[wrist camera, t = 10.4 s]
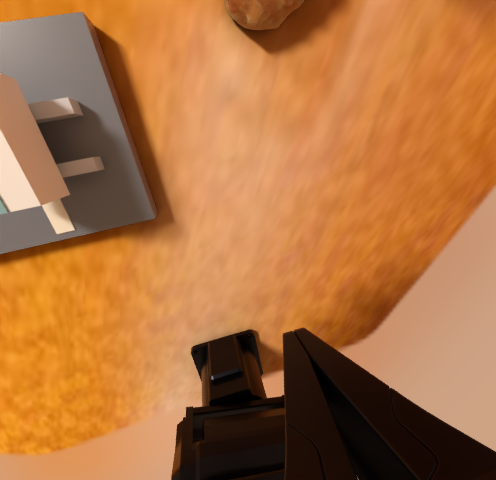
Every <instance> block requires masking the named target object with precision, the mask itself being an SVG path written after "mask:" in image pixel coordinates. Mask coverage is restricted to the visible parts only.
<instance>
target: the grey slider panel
mask: <svg viewBox="0 0 496 480" xmlns="http://www.w3.org/2000/svg"><path fill="white" fill-rule="evenodd" d="M0 73H1V74H3V75H6V76H9V77H11V78H14V79H16V81H17V83H18V85H19V87H20V90H21V92H22V94H23V96H24V98H25V100H26V102H27V104H28V106H29V108H30V111H31V113H32V115H33V117H34V119H35V121H36V123H37V125H38V127H39V130H40V132H41V134H42V136H43V138H44V140H45V142H46V144H47V146H48V148H49V151H50V153H51V155H52V157H53V159H54V161H55V163H56V165H57V167H58V169H59V172H60V174H61V176H62V178H63V180H64V182H65V184H66V186H67V188H68V191H69V193H70V195H68V196H65V197H63V198H60V199H57V200H55V201H52V202H49V203H47V204H44V205H41V206H37V207H32V208H27V209H23V210H18V211H13V212H9V213H5V214H0V254H3V253H7V252H12V251H16V250H21V249H25V248H29V247H34V246H38V245H42V244H47V243H51V242H55V241H60V240H64V239H68V238H73V237H77V236H82V235H86V234H90V233H95V232H99V231H103V230H108V229H112V228H116V227H121V226H125V225H130V224H134V223H138V222H143V221H147V220H151V219H155V218H156V216H157V215H158V212H157V209H156V206H155V203H154V200H153V197H152V194H151V191H150V188H149V185H148V182H147V179H146V177H145V174H144V171H143V168H142V165H141V162H140V159H139V156H138V153H137V150H136V147H135V144H134V142H133V139H132V136H131V133H130V130H129V127H128V124H127V121H126V118H125V115H124V112H123V109H122V107H121V104H120V101H119V98H118V95H117V92H116V89H115V86H114V83H113V80H112V77H111V74H110V72H109V69H108V66H107V63H106V60H105V57H104V54H103V51H102V48H101V45H100V42H99V39H98V37H97V34H96V31H95V28H94V25H93V24H92V22H91V21H90V20H89V19H88V18H87V16H86V15H85V14H84V13H83V12H78V13H70V14H63V15H55V16H48V17H40V18H32V19H25V20H17V21H9V22H2V23H0Z"/></svg>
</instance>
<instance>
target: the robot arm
mask: <svg viewBox="0 0 496 480" xmlns="http://www.w3.org/2000/svg"><path fill="white" fill-rule="evenodd" d="M248 335H250V336H248ZM196 350H197V351H196ZM191 355H192V357H193V360H194V363H195V365H196V368H197V371H198V373H199V376H200V378H201V381H202V407H195V408H193V407H186V417H184V418H183V421H181V422H180V423H179V424H178V425H177V435H176V447H175V455H174V462H173V470H172V477H171V478H172V479H171V480H358V479H359V480H496V452H495V451H493V450H492V449H490V448H488V447H486V446H485V445H483V444H481V443H480V442H478V441H476V440H475V439H473V438H471V437H469V436H467V435H466V434H464V433H462V432H461V431H459V430H457V429H456V428H454V427H452V426H450V425H448V424H447V423H445V422H443V421H442V420H440V419H438V418H437V417H435V416H434V415H432V414H430V413H429V412H427V411H425V410H424V409H422V408H420V407H419V406H418V405H416V404H414V403H413V402H411V401H410V400H408V399H407V398H405V397H404V396H402V395H401V394H400V393H398V392H397V391H395V390H394V389H392V388H389V386H388V385H386V384H385V383H383V382H382V381H380V380H379V379H378V378H376V377H375V376H373V375H372V374H370V373H369V372H368V371H366V370H365V369H363V368H362V367H360V366H359V365H357V364H356V363H354V362H353V361H352V360H350V359H349V358H347V357H345V356H344V355H343V354H341V353H340V352H339V351H337V350H336V349H334V348H333V347H331V346H330V345H328V344H327V343H325V342H324V341H323V340H321V339H320V338H318V337H317V336H315V335H314V334H312V333H311V332H310V331H308V330H307V329H305V328H300V329H296V330H294V332H293V331H289V332H286V333H283V365H284V395H282V396H281V397H274V398H267V397H266V393H265V390H264V386H263V383H262V379H261V376H262V374H263V371H262V367H261V363H260V358H259V354H258V349H257V345H256V341H255V336H254V333H253V331H252V330H247V331H244V332H240V333H237V334H233V335H230V336H226V337H223V338H220V339H216V340H213V341H209V342H206V343H203V344H199V345H196V346H193V347H192V349H191ZM356 475H357V476H356ZM357 477H358V479H357Z"/></svg>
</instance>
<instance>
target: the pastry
mask: <svg viewBox="0 0 496 480" xmlns="http://www.w3.org/2000/svg"><path fill="white" fill-rule="evenodd" d="M304 1H305V0H225V4H226V8H227V10H228V13H229V15H230V16H231V17H232V18H233V19H234V20H235V21H236V22H237V23H238V24H240V25H241V26H242V27H244V28H247V29H251V30H264V29H275V28H278V27H279V26H280V25H281V23H282V22H283V21H284V20H285V19H286V17H287V16H288V15H289V14H290V13H291V12H293V11H294V10H296V9H297V8H299V7H300V6H301V4H302V3H303V2H304Z"/></svg>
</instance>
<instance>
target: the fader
mask: <svg viewBox="0 0 496 480" xmlns="http://www.w3.org/2000/svg"><path fill="white" fill-rule="evenodd" d="M68 195H70V193H69V191H68V188H67V186H66V184H65V182H64V180H63V178H62V176H61V174H60V172H59V169H58V167H57V165H56V163H55V161H54V159H53V157H52V155H51V153H50V151H49V148H48V146H47V144H46V142H45V140H44V138H43V136H42V134H41V132H40V130H39V127H38V125H37V123H36V121H35V119H34V117H33V115H32V113H31V111H30V108H29V106H28V104H27V102H26V100H25V98H24V96H23V94H22V92H21V90H20V87H19V85H18V83H17V81H16V79H14V78H11V77H9V76H6V75H3V74H1V73H0V214H5V213H9V212H13V211H18V210H23V209H27V208H32V207H37V206H41V205H44V204H47V203H49V202H52V201H55V200H57V199H60V198H63V197H65V196H68Z"/></svg>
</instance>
